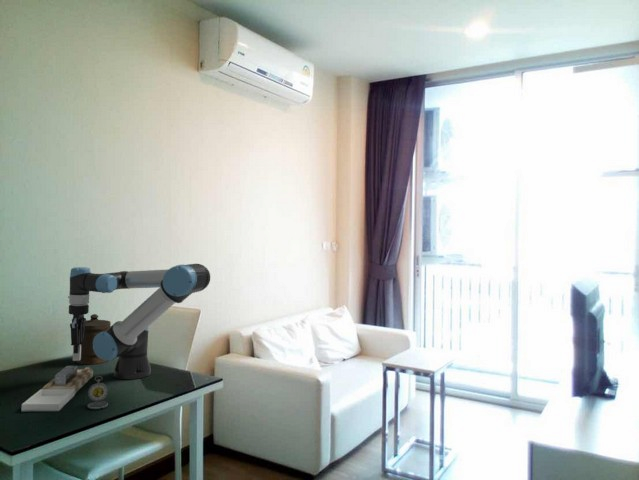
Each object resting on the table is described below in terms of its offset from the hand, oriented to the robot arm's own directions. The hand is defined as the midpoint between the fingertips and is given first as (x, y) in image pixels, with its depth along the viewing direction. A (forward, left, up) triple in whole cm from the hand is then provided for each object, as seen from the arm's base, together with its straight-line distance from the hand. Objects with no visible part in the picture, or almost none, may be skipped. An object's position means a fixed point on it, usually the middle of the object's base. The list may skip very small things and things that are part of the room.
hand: (76, 360), depth 205 cm
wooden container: (+7, -28, -8) cm, 30 cm away
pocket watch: (-23, +29, -8) cm, 38 cm away
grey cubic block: (-3, +17, -5) cm, 18 cm away
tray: (-5, +29, -8) cm, 30 cm away
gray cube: (-2, +8, -5) cm, 9 cm away
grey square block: (-2, +12, -5) cm, 13 cm away
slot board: (-2, +9, -8) cm, 12 cm away
